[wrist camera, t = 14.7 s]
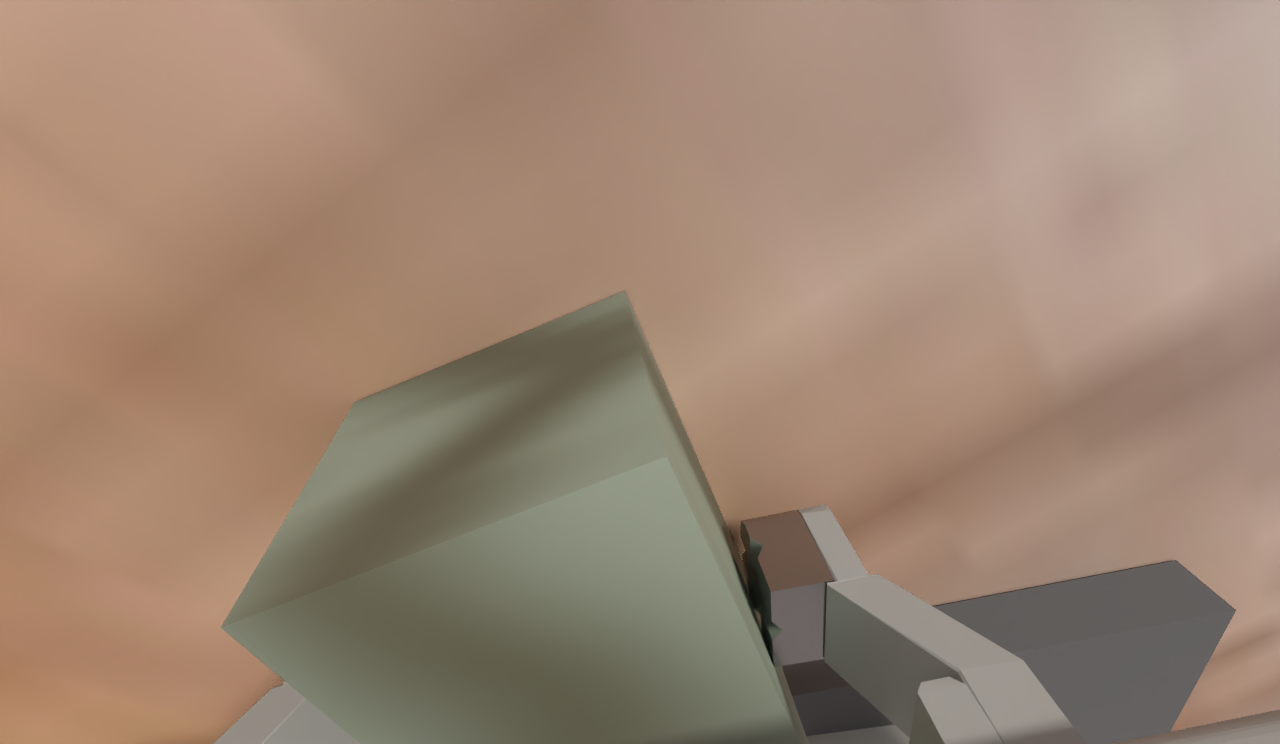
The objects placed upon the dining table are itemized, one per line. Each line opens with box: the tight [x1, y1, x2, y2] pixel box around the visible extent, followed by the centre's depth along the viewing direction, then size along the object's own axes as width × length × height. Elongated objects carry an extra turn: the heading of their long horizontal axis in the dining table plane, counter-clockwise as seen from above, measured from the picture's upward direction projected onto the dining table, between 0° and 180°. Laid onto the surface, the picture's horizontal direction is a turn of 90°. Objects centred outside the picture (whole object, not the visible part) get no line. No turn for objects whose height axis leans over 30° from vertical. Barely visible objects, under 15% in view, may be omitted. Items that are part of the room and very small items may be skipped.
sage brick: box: [221, 291, 809, 744], centre depth 10 cm, size 5×8×4 cm, turn 22°
